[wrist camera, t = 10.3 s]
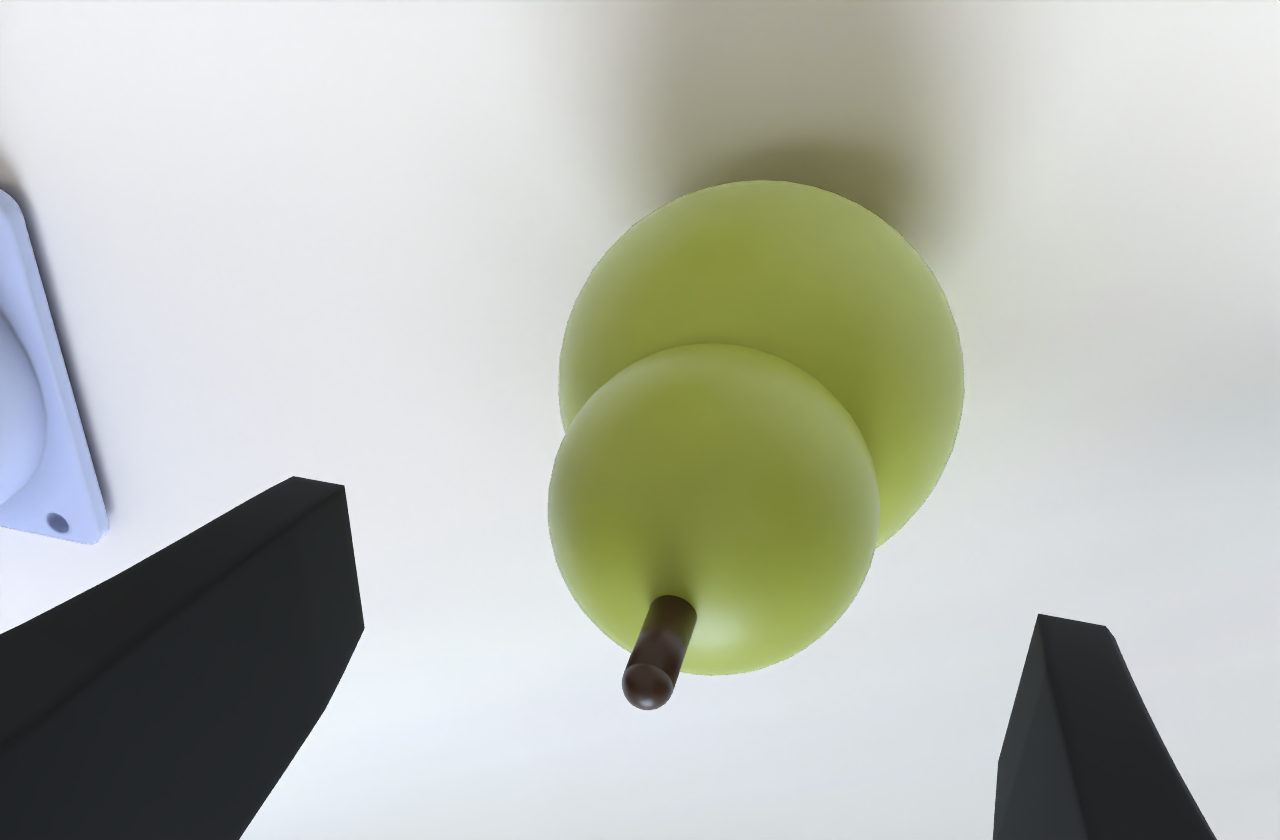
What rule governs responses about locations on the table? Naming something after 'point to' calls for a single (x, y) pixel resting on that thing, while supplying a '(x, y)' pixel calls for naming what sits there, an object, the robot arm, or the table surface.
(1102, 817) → the robot arm
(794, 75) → the table surface
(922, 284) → the pear
